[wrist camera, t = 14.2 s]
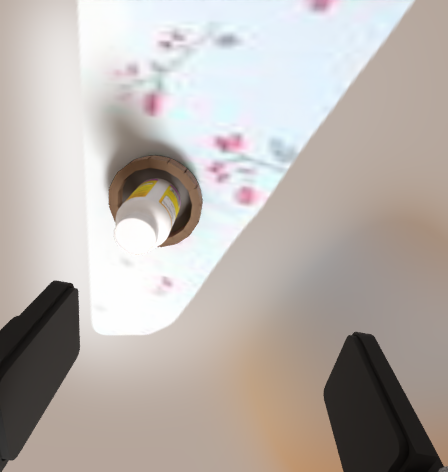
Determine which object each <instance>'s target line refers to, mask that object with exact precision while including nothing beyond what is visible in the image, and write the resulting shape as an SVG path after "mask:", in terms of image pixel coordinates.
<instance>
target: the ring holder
mask: <svg viewBox="0 0 448 472" xmlns="http://www.w3.org/2000/svg"><path fill="white" fill-rule="evenodd" d="M153 178H159V179H164V180H166V181H168V182H170V183H171V184H172V185H173V186H175V188H176V189H177V191H178V192H179V195H180V199H181V205H180V209H179V212H178V214H177V217H176V219H175V222H174V224H173V226H172V228H171V231H170V233H169V235H168V237H167V239H166V240H165V241H164V242H163V243H162V244H161V245H159V246H160V247H164V246H169V245H174V244H177V243H179V242H180V241H182V240H183V239H185V238H187V237H188V236H189V235H190V234H191V233H192V231H193V230H194V228H195V227H196V225H197V224H198V222H199V219H200V215H201V209H202V202H203V201H202V193H201V189H200V186H199V184H198V182H197V180H196V178H195V177H194V175H193V174H192V173H191V172H190V171H189V170H188V169H187V168H186V167H185V166H184V165H182V164H181V163H179V162H177V161H176V160H174V159H171V158H168V157H164V156H158V155H151V156H145V157H141V158H138V159H135V160H133V161H132V162H130V163H129V164H128V165H126V166H125V167H124V168H123V169H121V170H120V171H119V172H117V174H116V175H115V177H114V179H113V181H112V184H111V186H110V189H109V205H110V206H109V208H110V210H111V213H112V215H113V218H114V220H116V214H117V211H118V209H119V208H120V207H121V205H122V204H123V203H124V202H125V201H126V200H127V199H128V198H129V197H130V195H131V194H132V193H133V192H134V191H135V190H136V189H137V188H138V187H139V186H140V185H141V184H142V183H143V182H144V181H146V180H149V179H153ZM159 246H157V247H159Z"/></svg>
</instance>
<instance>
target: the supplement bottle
mask: <svg viewBox="0 0 448 472" xmlns="http://www.w3.org/2000/svg"><path fill="white" fill-rule="evenodd" d="M180 205H181V199H180V195H179V192H178V191H177V189H176V188H175V186H173V185H172V184H171V183H170V182H168V181H166V180H164V179H159V178H153V179H149V180H146V181H144V182H143V183H142V184H141V185H140V186H139V187H138V188H137V189H136V190H135V191H134V192H133V193H132V194H131V195H130V197H129V198H128V199H127V200H126V201H125V202H124V203H123V204H122V205H121V207H120V208H119V209H118V211H117V214H116V220H115V223H116V227H115V230H114V237H115V241H116V243H117V245H118V246H119V247H120V248H121V249H122V250H123V251H125V252H127V253H129V254H132V255H144V254H146V253H148V252H150V251H151V250H152V249H153V248H155V247H157V246H159V245H161V244H162V243H163V242H164V241H165V240H166V239H167V237H168V235H169V233H170V231H171V228H172V226H173V224H174V222H175V219H176V217H177V214H178V212H179V209H180Z"/></svg>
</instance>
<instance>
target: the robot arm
mask: <svg viewBox="0 0 448 472" xmlns="http://www.w3.org/2000/svg"><path fill="white" fill-rule="evenodd" d="M79 350H80V336H79V301H78V289H76V288H74V286H73V284H72V283H67V282H61V281H53V282H51V283H50V285H48V286H47V287H46V289H45V290H44V291H43V292H42V293H41V294H40V295H39V296H38V297H37V298H36V299H35V300H34V301H33V302H32V303H31V304H30V305H29V306H28V307H27V308H26V309H25V310H24V311H23V312H22V313H21V315H19V316H16V317H14V318H13V319H11V320H10V321H9V322H8V323H7V324H6V325H5V326H4V327H3V328H2V329H1V330H0V472H2V470H3V468H4V467H5V466H6V464H7V462H8V461H9V460H14V459H15V458H16V457H17V456H18V454H19V453H20V451H21V450H22V448H23V446H24V445H25V443H26V441H27V440H28V438H29V436H30V435H31V433H32V431H33V430H34V428H35V426H36V425H37V423H38V421H39V420H40V418H41V416H42V415H43V413H44V411H45V410H46V408H47V406H48V405H49V403H50V402H51V400H52V398H53V397H54V395H55V393H56V392H57V390H58V388H59V387H60V385H61V383H62V382H63V380H64V378H65V377H66V375H67V373H68V372H69V370H70V368H71V367H72V365H73V363H74V362H75V360H76V358H77V356H78V354H79ZM324 401H325V404H326V408H327V412H328V415H329V419H330V423H331V427H332V431H333V434H334V438H335V441H336V445H337V449H338V453H339V456H340V460H341V464H342V468H343V471H344V472H448V467H444V466H443V464H442V462H441V460H440V458H439V456H438V454H437V452H436V450H435V448H434V447H433V445H432V443H431V441H430V439H429V437H428V435H427V434H426V432H425V430H424V428H423V426H422V424H421V423H420V421H419V419H418V417H417V415H416V413H415V412H414V409H413V408H412V406H411V404H410V402H409V400H408V398H407V396H406V394H405V393H404V391H403V389H402V387H401V385H400V383H399V381H398V380H397V378H396V376H395V374H394V372H393V370H392V368H391V367H390V365H389V363H388V361H387V359H386V358H385V355H384V354H383V352H382V350H381V349H380V346H379V344H378V342H377V341H376V339H375V337H374V336H373V335H371V334H365V333H360V332H354V333H353V334H352V335H349V336H348V337H347V339H346V341H345V343H344V345H343V348H342V350H341V352H340V354H339V356H338V359H337V361H336V363H335V365H334V368H333V370H332V372H331V374H330V377H329V379H328V381H327V383H326V386H325V388H324Z"/></svg>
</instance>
